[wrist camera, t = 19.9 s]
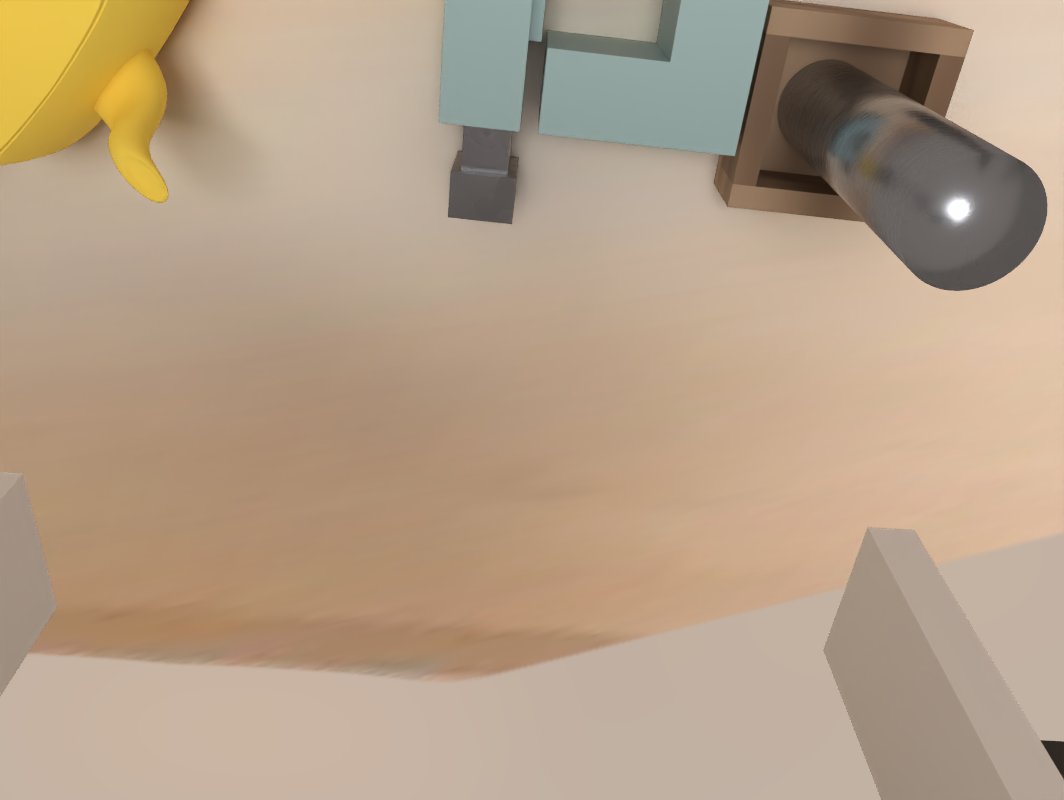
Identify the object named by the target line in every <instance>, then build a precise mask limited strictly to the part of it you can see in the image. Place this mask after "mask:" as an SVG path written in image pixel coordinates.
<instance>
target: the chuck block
mask: <svg viewBox="0 0 1064 800" xmlns="http://www.w3.org/2000/svg"><path fill="white" fill-rule="evenodd" d="M545 1H546V0H445V8H444V27H443V46H442V65H441V84H440V104H439V123H446V124H455V125H463V126H472V127H481V128H490V129H499V130H508V131H517V132H520V124H521V114H522V104H523V94H524V83H525V73H526V63H527V53H528V43H529V40H530V41H539V42H541V40H542V30H543V21H544V11H545ZM768 5H769V0H664V1H663V7H662V13H661V19H660V25H659V31H658V37H657V43H652V42H644V41H635V40H627V39H618V38H610V37H601V36H593V35H584V34H576V33H567V32H559V31H550V30H548V32H547V41H546V50H545V60H544V69H543V78H542V87H541V97H540V106H539V126H538V134H543V135H552V136H561V137H570V138H579V139H588V140H596V141H605V142H614V143H623V144H632V145H641V146H650V147H658V148H667V149H676V150H685V151H694V152H703V153H712V154H721V155H729V156H735V153H736V149H737V144H738V140H739V135H740V131H741V126H742V122H743V117H744V113H745V108H746V104H747V99H748V95H749V90H750V86H751V81H752V77H753V72H754V68H755V63H756V59H757V54H758V50H759V45H760V41H761V36H762V32H763V27H764V23H765V18H766V14H767V9H768Z"/></svg>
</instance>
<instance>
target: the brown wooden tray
mask: <svg viewBox="0 0 1064 800" xmlns="http://www.w3.org/2000/svg"><path fill="white" fill-rule="evenodd" d="M973 32H974V30H971V29H968V28H965V27H962V26H959V25H956V24H953V23H950V22H947V21H944V20H940V19H935V18H927V17H919V16H910V15H902V14H894V13H885V12H877V11H869V10H860V9H852V8H844V7H835V6H827V5H819V4H810V3H802V2H794V1H785V0H769V5H768V9H767V14H766V18H765V23H764V27H763V32H762V36H761V41H760V45H759V50H758V54H757V59H756V63H755V68H754V72H753V77H752V81H751V86H750V90H749V95H748V99H747V104H746V108H745V113H744V117H743V122H742V126H741V131H740V135H739V140H738V144H737V149H736V153H735V156H729V155H721V154H720V157H719V162H718V166H717V171H716V176H715V180H714V184H715V186H716V187H717V189H718V191H719V193H720V194H721V196H722V198H723V200H724V201H725V203H726V205H727V207H735V208H744V209H753V210H762V211H771V212H780V213H789V214H798V215H807V216H816V217H825V218H834V219H843V220H852V221H861V222H864V221H863V220H862V219H861V218H860V217H859V216H858V215H857V214H856V212H855V211H854V210H853V209H852V208H851V207H850V206H849V205H848V204H847V203H846V202H845V201H844V200H843V199H842V198H841V197H840V196H839V195H838V194H837V192H836V191H835V190H834V189H833V188H832V187H831V186H830V185H829V184H828V183H827V182H826V181H825V180H824V179H823V178H822V177H821V176H820V175H819V174H818V172H817V171H816V170H815V169H814V168H813V167H812V166H811V165H810V164H809V163H808V162H807V161H806V160H805V159H804V158H803V157H802V156H801V155H800V154H799V152H798V151H797V150H796V149H795V148H794V147H793V146H792V145H791V144H790V143H789V142H788V141H787V140H786V138H785V137H784V136H783V134H782V132H781V130H780V127H779V123H778V117H777V109H778V103H779V99H780V96H781V94H782V91H783V89H784V88H785V86H786V84H787V83H788V82H789V80H790V79H791V78H792V77H793V76H794V75H795V74H796V73H797V72H798V71H799V70H801V69H802V68H804V67H805V66H807V65H809V64H811V63H814V62H817V61H820V60H827V59H836V60H841V61H844V62H847V63H849V64H851V65H853V66H855V67H856V68H858V69H860V70H862V71H863V72H865V73H867V74H869V75H870V76H872V77H874V78H876V79H877V80H879V81H881V82H883V83H884V84H886V85H888V86H890V87H892V88H893V89H895V90H897V91H899V92H900V93H902V94H904V95H906V96H907V97H909V98H911V99H913V100H914V101H916V102H918V103H920V104H921V105H923V106H925V107H927V108H929V109H930V110H932V111H934V112H936V113H937V114H939V115H941V116H943V117H944V118H945V115H946V112H947V109H948V106H949V103H950V100H951V98H952V95H953V92H954V89H955V86H956V83H957V80H958V77H959V74H960V71H961V68H962V65H963V62H964V59H965V56H966V53H967V50H968V47H969V44H970V41H971V38H972V35H973Z"/></svg>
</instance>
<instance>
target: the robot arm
mask: <svg viewBox="0 0 1064 800" xmlns="http://www.w3.org/2000/svg"><path fill="white" fill-rule="evenodd" d="M56 608H57V604H56V600H55V596H54V592H53V588H52V585H51V581H50V577H49V573H48V569H47V565H46V561H45V557H44V553H43V549H42V546H41V542H40V538H39V534H38V530H37V526H36V522H35V518H34V514H33V510H32V507H31V503H30V499H29V495H28V491H27V487H26V483H25V479H24V475H23V473H11V472H0V696H1V694H2V693H3V691H4V690H5V688H6V687H7V685H8V683H9V682H10V680H11V679H12V677H13V675H14V674H15V673H16V671H17V669H18V668H19V666H20V664H21V663H22V662H23V660H24V658H25V657H26V655H27V654H28V652H29V651H30V649H31V647H32V646H33V644H34V643H35V641H36V640H37V638H38V636H39V635H40V633H41V632H42V630H43V629H44V627H45V625H46V624H47V622H48V621H49V619H50V618H51V616H52V615H53V613H54V611H55V610H56ZM824 653H825V655H826V658H827V661H828V663H829V666H830V668H831V671H832V673H833V676H834V678H835V681H836V684H837V686H838V689H839V691H840V694H841V697H842V699H843V702H844V704H845V706H846V709H847V712H848V714H849V717H850V720H851V722H852V725H853V727H854V730H855V732H856V735H857V738H858V740H859V743H860V746H861V748H862V751H863V753H864V756H865V758H866V761H867V764H868V766H869V769H870V771H871V774H872V776H873V779H874V781H875V784H876V787H877V789H878V792H879V794H880V797H881V800H1064V742H1061V741H1042V740H1040V739H1039V737H1038V736H1037V734H1036V732H1035V731H1034V729H1033V727H1032V726H1031V724H1030V723H1029V721H1028V719H1027V718H1026V716H1025V714H1024V712H1023V711H1022V709H1021V707H1020V706H1019V704H1018V703H1017V701H1016V699H1015V697H1014V696H1013V694H1012V692H1011V691H1010V689H1009V687H1008V686H1007V684H1006V682H1005V681H1004V679H1003V677H1002V676H1001V674H1000V672H999V671H998V669H997V667H996V666H995V664H994V662H993V661H992V659H991V657H990V656H989V654H988V652H987V651H986V649H985V647H984V646H983V644H982V642H981V641H980V639H979V637H978V636H977V634H976V632H975V631H974V629H973V627H972V626H971V624H970V622H969V620H968V619H967V618H966V616H965V614H964V612H963V611H962V609H961V607H960V605H959V604H958V602H957V601H956V599H955V597H954V596H953V594H952V592H951V591H950V589H949V587H948V585H947V584H946V582H945V580H944V579H943V577H942V575H941V574H940V572H939V570H938V569H937V567H936V565H935V564H934V562H933V560H932V559H931V557H930V555H929V554H928V552H927V550H926V549H925V547H924V545H923V544H922V542H921V540H920V539H919V537H918V535H917V534H916V532H915V530H904V529H888V528H872V527H868V528H867V530H866V533H865V536H864V539H863V542H862V544H861V547H860V550H859V553H858V555H857V558H856V561H855V564H854V567H853V569H852V572H851V575H850V578H849V581H848V583H847V586H846V589H845V592H844V594H843V597H842V600H841V603H840V606H839V608H838V611H837V614H836V617H835V619H834V622H833V625H832V628H831V631H830V633H829V636H828V639H827V642H826V645H825V648H824Z"/></svg>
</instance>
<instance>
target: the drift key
mask: <svg viewBox="0 0 1064 800" xmlns="http://www.w3.org/2000/svg"><path fill="white" fill-rule="evenodd" d="M511 141H512V131H508V130H499V129H490V128H481V127H472V126H464V134H463V149H462V151H458V152H457V155H456V158H455V161H454V164H453V167H452V170H451V175H450V192H449V208H448V217H451V218H461V219H470V220H479V221H488V222H497V223H507V224H512V218H513V209H514V200H515V190H516V180H517V170H518V160H519V158H518V157H510V151H511Z"/></svg>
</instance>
